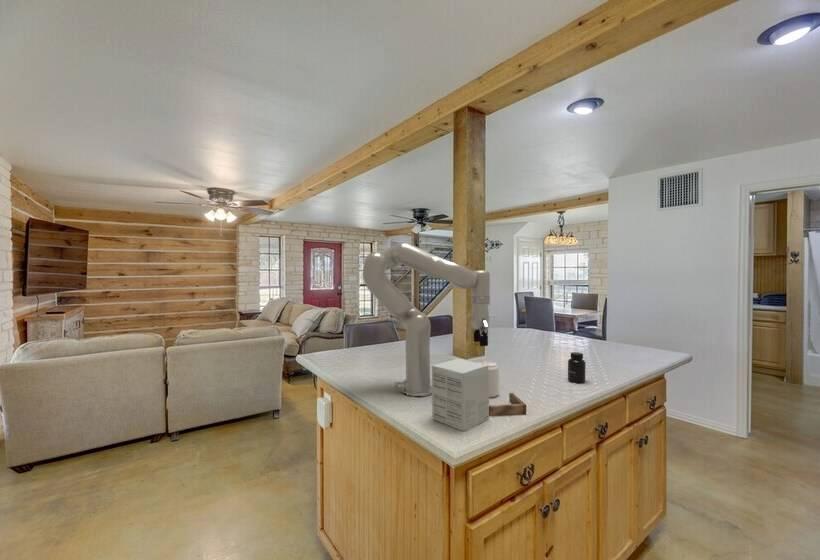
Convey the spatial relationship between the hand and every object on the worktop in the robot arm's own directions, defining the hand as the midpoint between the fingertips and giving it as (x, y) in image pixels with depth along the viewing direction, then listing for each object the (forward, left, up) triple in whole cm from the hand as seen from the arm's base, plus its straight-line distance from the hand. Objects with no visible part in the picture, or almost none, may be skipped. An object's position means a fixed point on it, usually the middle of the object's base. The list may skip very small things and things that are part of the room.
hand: (480, 343), depth 148 cm
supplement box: (-16, -30, -18) cm, 39 cm away
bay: (0, -23, -18) cm, 29 cm away
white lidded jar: (0, -9, -18) cm, 20 cm away
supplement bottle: (+42, +2, -18) cm, 46 cm away
